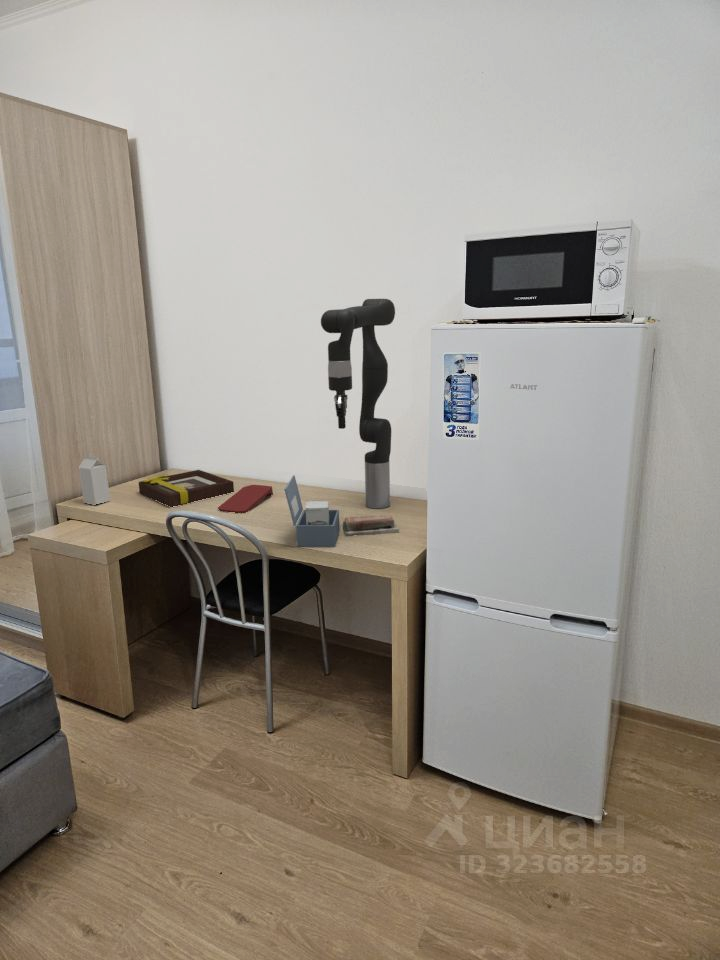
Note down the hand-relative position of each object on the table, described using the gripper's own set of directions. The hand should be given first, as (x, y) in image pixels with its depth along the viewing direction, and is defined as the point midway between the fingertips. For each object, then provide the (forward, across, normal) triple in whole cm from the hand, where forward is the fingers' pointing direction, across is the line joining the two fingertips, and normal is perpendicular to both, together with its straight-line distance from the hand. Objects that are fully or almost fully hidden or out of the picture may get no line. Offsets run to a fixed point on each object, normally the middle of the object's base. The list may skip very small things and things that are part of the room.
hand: (342, 428), depth 208 cm
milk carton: (+35, -31, -102) cm, 112 cm away
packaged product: (+36, +1, +8) cm, 37 cm away
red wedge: (+36, -30, -41) cm, 62 cm away
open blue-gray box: (+35, +9, -8) cm, 37 cm away
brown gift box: (+36, -44, -70) cm, 90 cm away
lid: (+22, +9, -15) cm, 28 cm away
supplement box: (+35, +12, -8) cm, 38 cm away
